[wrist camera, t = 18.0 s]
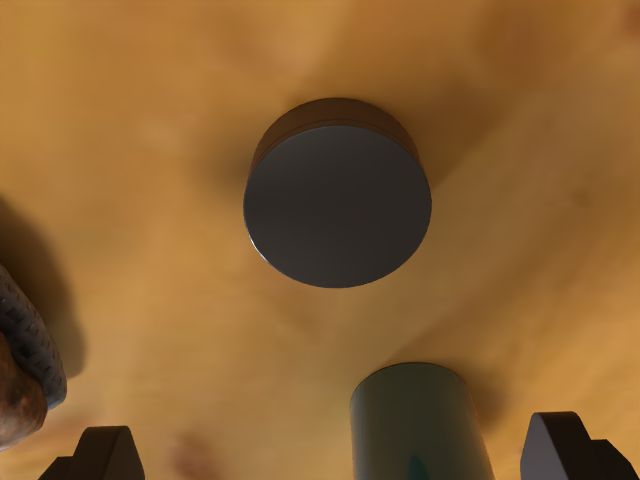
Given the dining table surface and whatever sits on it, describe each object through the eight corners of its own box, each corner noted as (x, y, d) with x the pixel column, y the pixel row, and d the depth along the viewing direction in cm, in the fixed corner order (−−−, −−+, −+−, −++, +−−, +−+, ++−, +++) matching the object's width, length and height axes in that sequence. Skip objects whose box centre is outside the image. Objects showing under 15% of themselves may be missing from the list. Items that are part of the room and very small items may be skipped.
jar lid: (242, 100, 20) (232, 128, 18) (426, 94, 20) (440, 121, 18) (258, 252, 23) (252, 290, 21) (415, 248, 23) (425, 287, 21)
